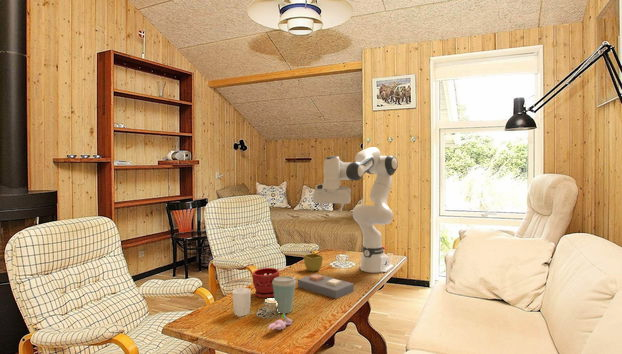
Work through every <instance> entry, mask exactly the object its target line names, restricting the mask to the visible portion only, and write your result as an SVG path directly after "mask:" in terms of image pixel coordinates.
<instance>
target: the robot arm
mask: <svg viewBox="0 0 622 354" xmlns="http://www.w3.org/2000/svg"><path fill="white" fill-rule="evenodd" d="M398 162H399V161H398V160H397V158H396V156H395V155H382V153H381V150H380V149H379V148H377V147H375V146H371V147H367V148H365V149H362V150H360V151H359V152H357V153H356V154H355V158H354V161H353V162H351V161H350V162H343V161H342V160H341V159H340V157H339V156H338V155H331V156H330V155H329V156H327V157H325V159H324V163H323V164H324V165H323V176H324V178H323V182H321V183H319V184H317V185H315V187H314V188H315V190H314V191H313V197H312V202H314V204H319V207H320V208H321V212H326V208H325V207H324V204H339V205H340V206H341V207H340V208H338V213H342V212H343V208H344V207H345V205H348V204H350V203H351V202H352V200H351V199H352V198H351V194H352V188H351V187H349V186H348V185H346V186H344V185H343V186H341V180H343V181H355V182H357V181H360V180H361V179H362V178H363V176H364V175H365V174H370V175H376V178H375V180H374V181H373V185H372V187H371V190H370V193H369V198H370V201H371V202H372V203H374V205H364V204H362V205H357V206H355V207H354V208H353V210H352V217H353V218H352V219H353V220H354V221H355V222H356V223H357V224H358V226H359V227H360V230H361V232H362V243H363V244H362V249H361V250H362V254H361V259H360V265H358V267H359V268H360V270H361V271H362V272H364V273H374V274H375V273H378V274H379V273H383V272H385V273H387V272H389V271H390V270H392V269H393V268H395V266H394V264H392V263H391V260H390V257H389V256H388V255H387V254H386V253H385V252H384V250H386V245H385V246H384V245H382V241H383V240H382V238H383V237H382V233H381V231H379V230H378V229H377V228H376V227H375V225H380V226H383V225H390V224H391V223H392V221H393V219H394V214H393V213H394V212H393V211H392V209H391V208H390V207H389V204H388V198H389V195H390V192H391V189H392V183H393V178H392V176H394V174H395V172H396V171H397V168H398V165H399V163H398Z"/></svg>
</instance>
